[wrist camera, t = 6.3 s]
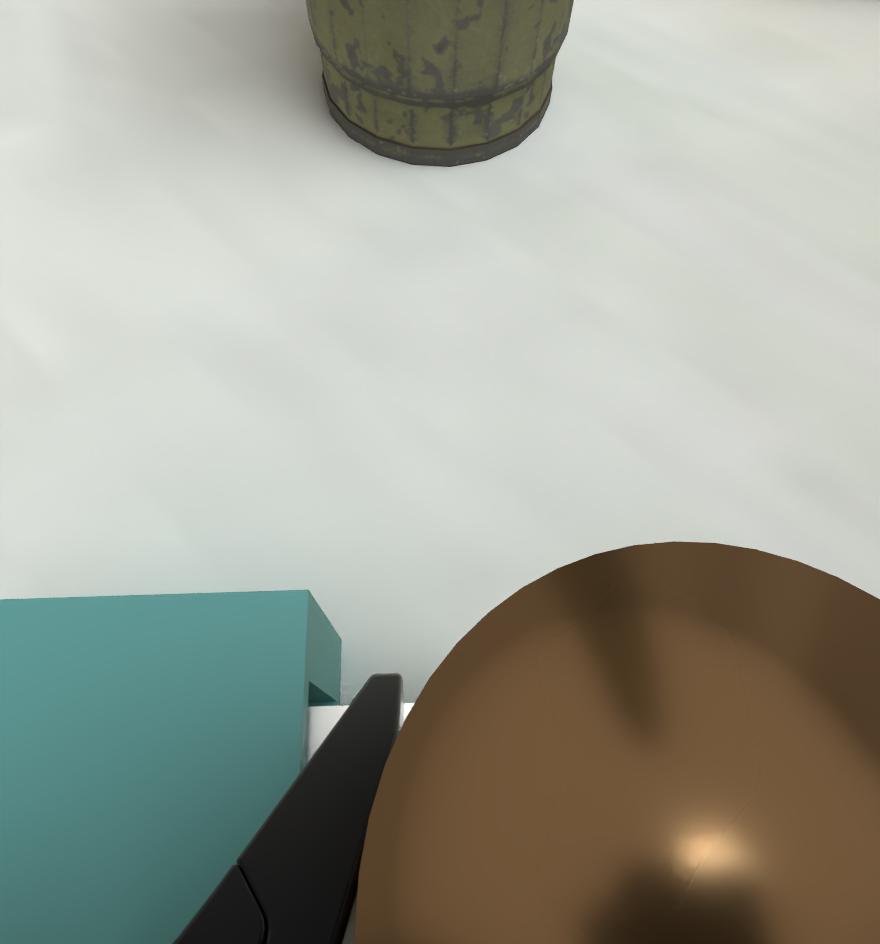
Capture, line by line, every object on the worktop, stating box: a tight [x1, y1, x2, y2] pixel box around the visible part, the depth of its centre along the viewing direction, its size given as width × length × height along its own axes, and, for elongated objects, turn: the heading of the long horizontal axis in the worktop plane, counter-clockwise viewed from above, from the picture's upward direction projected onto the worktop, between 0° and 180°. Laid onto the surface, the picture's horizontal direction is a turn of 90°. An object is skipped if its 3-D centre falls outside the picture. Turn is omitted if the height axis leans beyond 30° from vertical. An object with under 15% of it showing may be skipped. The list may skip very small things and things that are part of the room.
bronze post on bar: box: [305, 542, 880, 944], centre depth 8 cm, size 22×3×13 cm, turn 92°
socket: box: [0, 590, 341, 944], centre depth 12 cm, size 7×7×5 cm
